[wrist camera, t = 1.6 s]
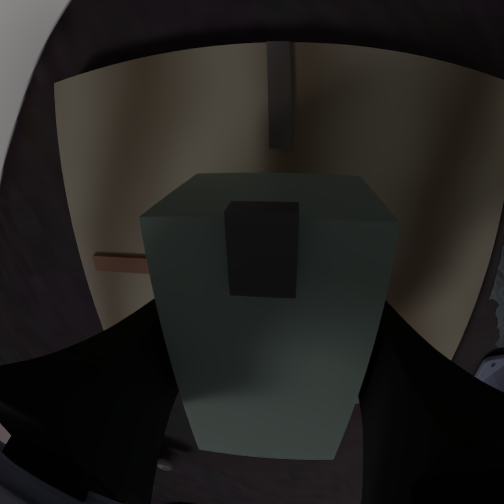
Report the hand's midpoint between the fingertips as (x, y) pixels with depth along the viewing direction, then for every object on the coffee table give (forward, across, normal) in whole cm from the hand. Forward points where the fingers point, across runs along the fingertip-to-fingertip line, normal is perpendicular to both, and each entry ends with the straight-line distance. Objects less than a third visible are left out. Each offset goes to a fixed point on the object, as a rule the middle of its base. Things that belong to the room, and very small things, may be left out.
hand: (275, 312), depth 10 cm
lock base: (+4, 0, 0) cm, 4 cm away
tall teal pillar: (+1, 0, 0) cm, 1 cm away
